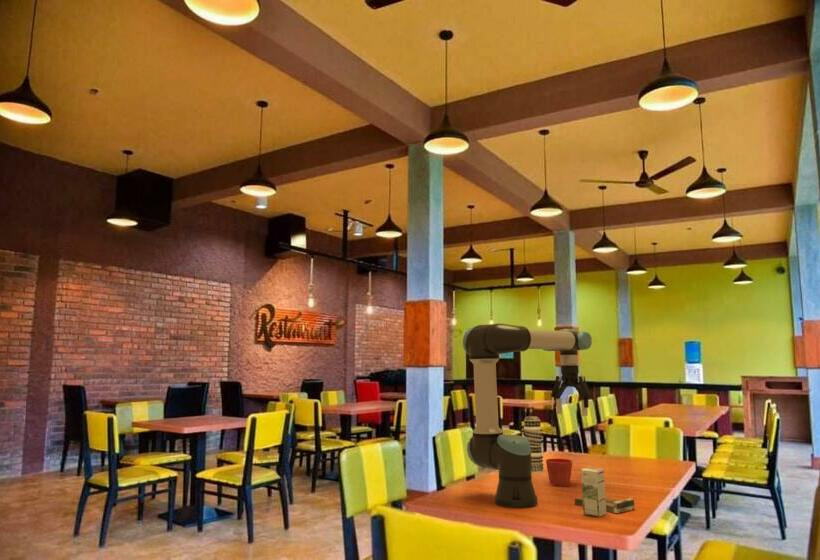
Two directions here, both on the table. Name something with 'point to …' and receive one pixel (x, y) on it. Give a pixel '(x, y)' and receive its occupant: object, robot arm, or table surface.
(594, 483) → the syrup box
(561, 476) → the flower pot
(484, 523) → the table surface
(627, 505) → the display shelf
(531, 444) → the decorative candle
